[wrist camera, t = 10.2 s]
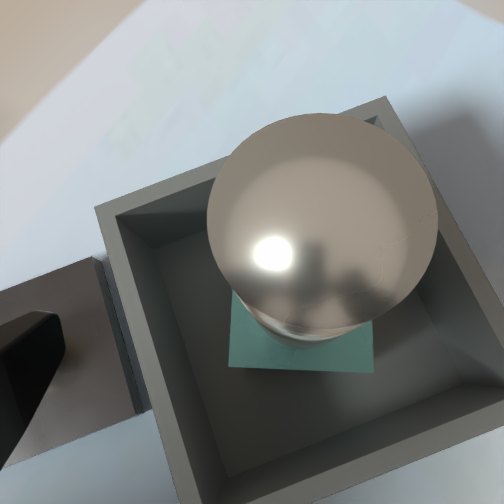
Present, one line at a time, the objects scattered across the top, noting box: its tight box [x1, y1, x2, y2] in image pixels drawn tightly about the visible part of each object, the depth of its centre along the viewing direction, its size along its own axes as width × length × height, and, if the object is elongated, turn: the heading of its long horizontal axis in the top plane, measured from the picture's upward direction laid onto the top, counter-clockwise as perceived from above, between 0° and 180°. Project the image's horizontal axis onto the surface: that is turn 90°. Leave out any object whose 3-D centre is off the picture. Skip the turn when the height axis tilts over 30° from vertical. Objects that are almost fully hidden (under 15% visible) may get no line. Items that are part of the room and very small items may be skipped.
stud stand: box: [0, 256, 144, 469], centre depth 16 cm, size 7×7×4 cm
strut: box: [207, 113, 438, 373], centre depth 12 cm, size 4×4×12 cm
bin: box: [94, 96, 504, 504], centre depth 16 cm, size 11×11×5 cm
